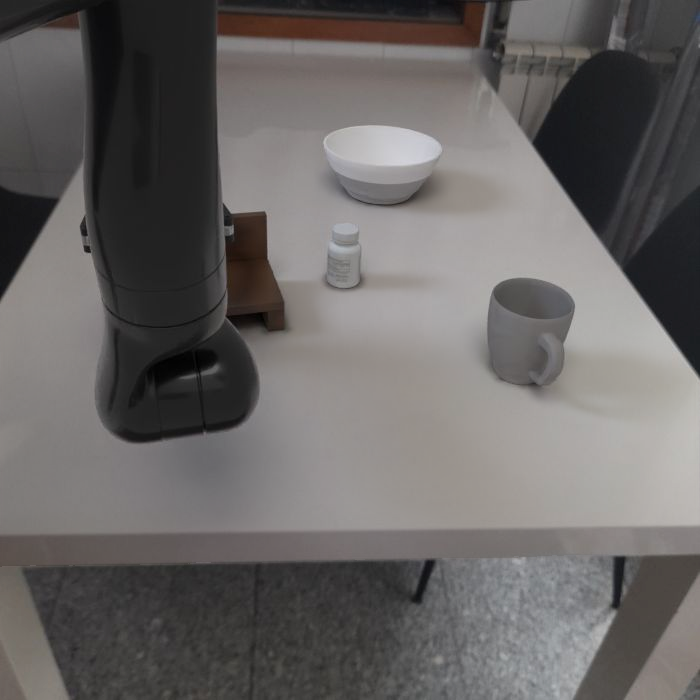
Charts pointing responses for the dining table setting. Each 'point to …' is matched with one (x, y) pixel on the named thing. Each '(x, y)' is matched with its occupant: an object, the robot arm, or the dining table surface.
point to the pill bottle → (344, 256)
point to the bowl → (381, 161)
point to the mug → (528, 330)
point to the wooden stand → (252, 272)
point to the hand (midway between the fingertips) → (154, 192)
